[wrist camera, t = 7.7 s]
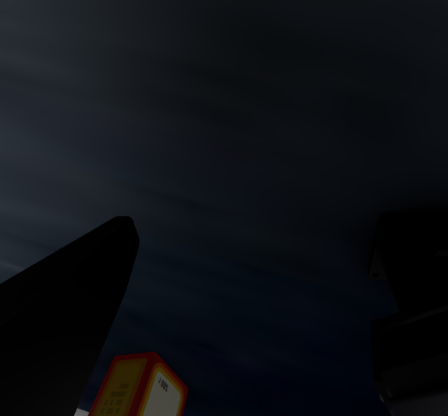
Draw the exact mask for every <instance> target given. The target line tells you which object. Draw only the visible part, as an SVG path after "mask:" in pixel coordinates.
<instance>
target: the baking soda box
mask: <svg viewBox="0 0 448 416" xmlns="http://www.w3.org/2000/svg"><path fill="white" fill-rule="evenodd" d="M188 390H189V388H188V387H187V386H186V385H185V384H184V383H183V382H182V381H181V380H180V379H179V377H178V376H177V375H176V374H175V373H174V372H173V371H172V370H171V369H170V368H169V367H168V365H167V364H166V363H165V362H164V361H163V360H162V359H161V358H160V357H159V356H158V354H157V353H156V352H149V353H139V354H129V355H120V356H115V357H114V359H113V361H112V363H111V366H110V368H109V370H108V372H107V375H106V377H105V379H104V381H103V383H102V386H101V388H100V390H99V392H98V394H97V397H96V399H95V401H94V403H93V406H92V408H91V410H90V412H89V414H88V416H183V411H184V407H185V403H186V398H187V394H188Z"/></svg>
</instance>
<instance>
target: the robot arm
mask: <svg viewBox="0 0 448 416" xmlns="http://www.w3.org/2000/svg"><path fill="white" fill-rule="evenodd" d="M387 219H390V220H389V221H385V220H387ZM138 248H139V236H138V234H137V231H136V228H135V225H134V222H133V220H132V218H131V217H129V216H116V217H114V218H112V219H111V220H109V221H107V222H106V223H104V224H102V225H100V226H99V227H97V228H95V229H94V230H92V231H90V232H88V233H87V234H85V235H83V236H82V237H80V238H78V239H76V240H75V241H73V242H71V243H70V244H68V245H66V246H64V247H63V248H61V249H59V250H58V251H56V252H54V253H52V254H51V255H49V256H47V257H46V258H44V259H42V260H40V261H39V262H37V263H35V264H34V265H32V266H30V267H28V268H27V269H25V270H23V271H22V272H20V273H18V274H16V275H15V276H13V277H11V278H10V279H8V280H6V281H4V282H3V283H1V284H0V416H74V414H75V412H76V409H77V407H78V405H79V403H80V400H81V398H82V395H83V393H84V391H85V388H86V386H87V383H88V381H89V379H90V376H91V374H92V371H93V369H94V367H95V364H96V362H97V359H98V357H99V355H100V352H101V350H102V347H103V345H104V343H105V340H106V338H107V335H108V333H109V331H110V328H111V326H112V323H113V321H114V319H115V316H116V314H117V311H118V309H119V307H120V304H121V302H122V299H123V297H124V294H125V292H126V289H127V286H128V282H129V279H130V275H131V272H132V269H133V265H134V262H135V258H136V255H137V252H138ZM374 273H376V274H374ZM368 275H369V277H370V278H371V279H376V280H388V282H389V284H390V287H391V290H392V293H393V295H394V298H395V301H396V303H397V306H398V309H399V311H400V312H398V313H395V314H393V315H390V316H387V317H385V318H382V319H380V318H377V319H375V320H372V321H371V329H372V333H371V335H372V353H373V372H374V382H375V384H376V386H377V388H378V394H379V397H380V399H381V400H382V401H383V402H384V403H385V405H386V406H387V408H388V410H389V412H390V413H391V415H392V416H448V212H433V213H386V214H383V215H381V216H380V218H379V222H378V226H377V231H376V236H375V240H374V245H373V250H372V254H371V259H370V264H369V268H368Z"/></svg>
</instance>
